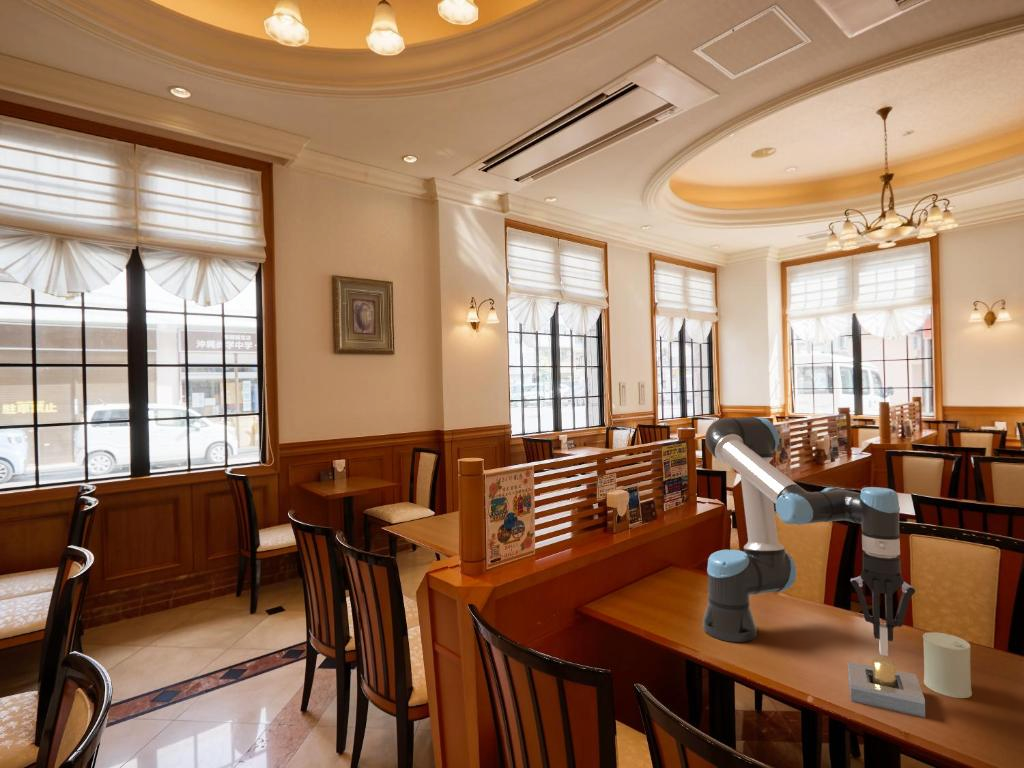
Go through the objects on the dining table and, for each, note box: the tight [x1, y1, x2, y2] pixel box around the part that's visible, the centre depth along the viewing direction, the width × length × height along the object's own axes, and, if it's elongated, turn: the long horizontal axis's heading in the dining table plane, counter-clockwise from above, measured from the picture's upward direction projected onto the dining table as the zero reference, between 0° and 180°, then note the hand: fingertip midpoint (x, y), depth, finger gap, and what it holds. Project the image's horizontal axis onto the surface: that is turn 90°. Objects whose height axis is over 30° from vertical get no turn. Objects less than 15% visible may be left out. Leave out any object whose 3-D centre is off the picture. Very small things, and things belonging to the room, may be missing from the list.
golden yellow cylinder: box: [872, 657, 896, 688], centre depth 129 cm, size 4×4×8 cm
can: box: [922, 631, 973, 699], centre depth 132 cm, size 9×9×12 cm
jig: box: [847, 660, 926, 719], centre depth 129 cm, size 14×12×4 cm
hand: (883, 652), depth 129 cm, fingers closed
